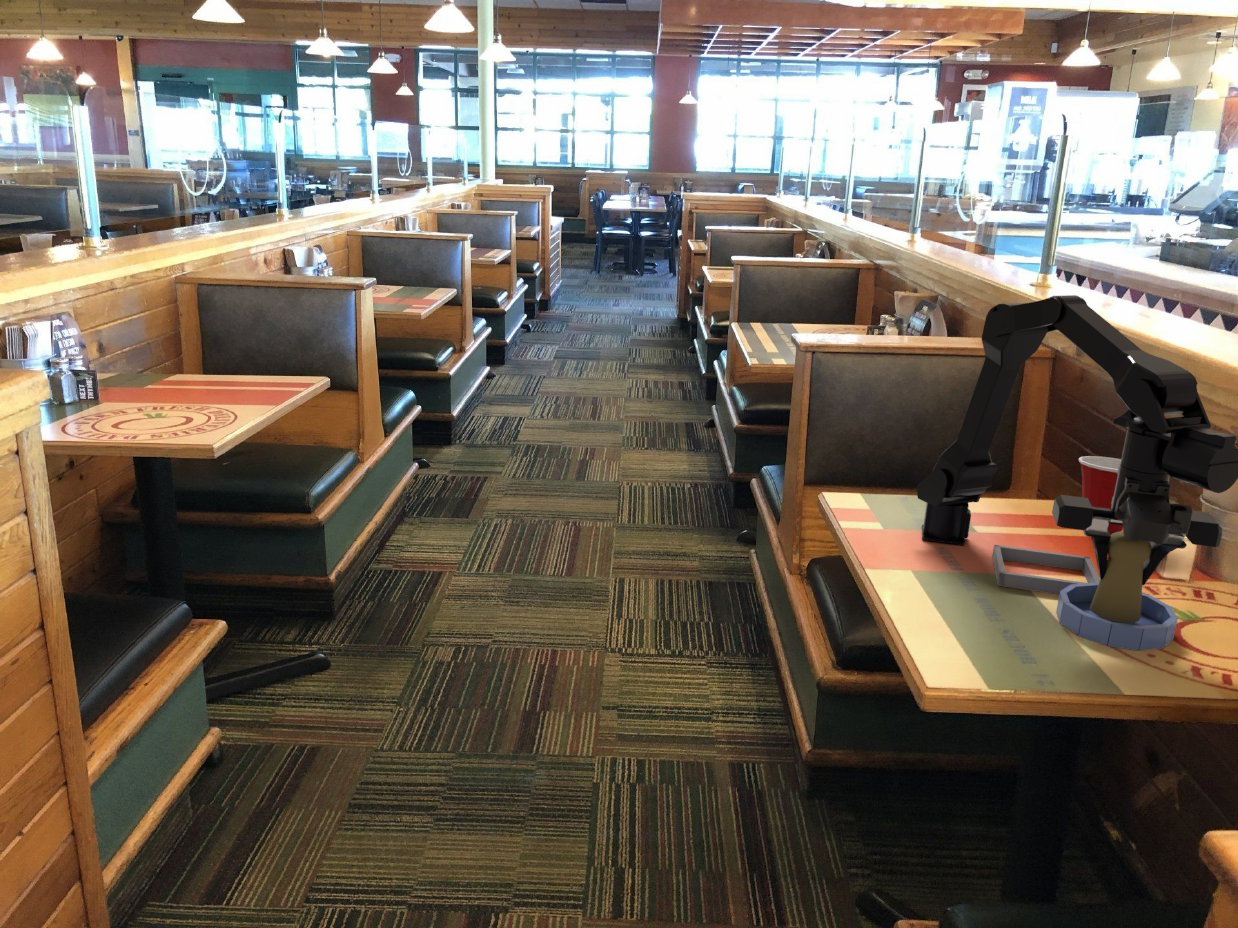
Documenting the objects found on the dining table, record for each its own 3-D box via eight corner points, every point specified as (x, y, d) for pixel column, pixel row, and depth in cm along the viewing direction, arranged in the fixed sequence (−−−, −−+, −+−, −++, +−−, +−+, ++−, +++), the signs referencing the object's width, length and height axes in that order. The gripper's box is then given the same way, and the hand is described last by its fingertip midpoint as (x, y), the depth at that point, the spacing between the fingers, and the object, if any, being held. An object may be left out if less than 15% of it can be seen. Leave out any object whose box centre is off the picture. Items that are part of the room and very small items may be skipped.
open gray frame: (997, 585, 141) (1000, 572, 140) (992, 556, 151) (994, 544, 151) (1100, 600, 137) (1103, 586, 136) (1087, 569, 148) (1089, 557, 147)
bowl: (1064, 639, 125) (1068, 618, 124) (1051, 596, 138) (1055, 577, 137) (1182, 657, 121) (1187, 635, 121) (1158, 611, 134) (1162, 591, 133)
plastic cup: (1136, 525, 168) (1150, 458, 164) (1138, 545, 158) (1153, 475, 155) (1067, 513, 172) (1079, 448, 168) (1065, 533, 162) (1078, 464, 159)
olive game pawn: (1129, 604, 132) (1145, 528, 128) (1148, 624, 126) (1165, 545, 123) (1083, 600, 132) (1098, 524, 129) (1099, 620, 126) (1115, 541, 123)
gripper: (1074, 477, 118) (1052, 595, 123) (1248, 496, 113) (1218, 619, 118) (1062, 452, 128) (1042, 562, 133) (1221, 469, 123) (1194, 582, 128)
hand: (1121, 581), depth 128 cm, fingers closed on olive game pawn, 4 cm apart
